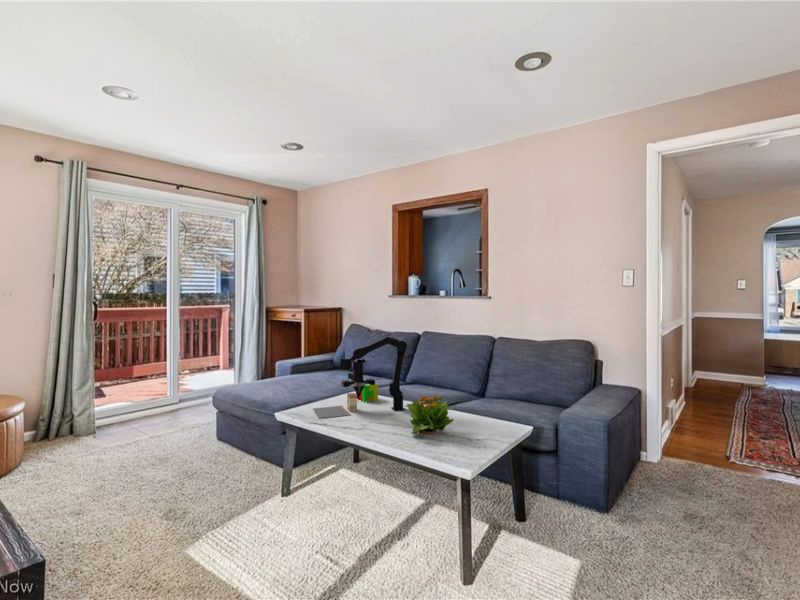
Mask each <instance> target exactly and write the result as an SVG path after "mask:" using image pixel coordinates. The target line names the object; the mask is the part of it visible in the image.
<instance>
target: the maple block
mask: <svg viewBox="0 0 800 600" xmlns="http://www.w3.org/2000/svg"><path fill="white" fill-rule="evenodd" d="M346 404H347V405H346V408H347V409H346V410H347V411H348V412H350V411H353V412H357V411H358V400H357V395H356V392H347V395H346ZM356 410H357V411H356Z"/></svg>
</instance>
